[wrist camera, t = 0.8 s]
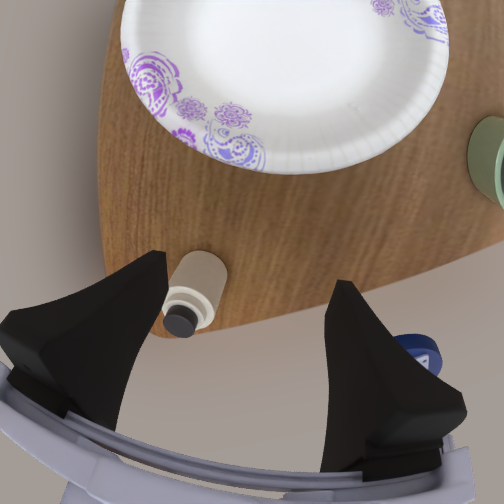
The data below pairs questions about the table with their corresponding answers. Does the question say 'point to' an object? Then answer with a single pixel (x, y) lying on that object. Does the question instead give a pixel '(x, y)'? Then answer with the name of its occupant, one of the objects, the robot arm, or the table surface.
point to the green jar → (488, 158)
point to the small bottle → (194, 293)
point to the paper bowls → (286, 76)
